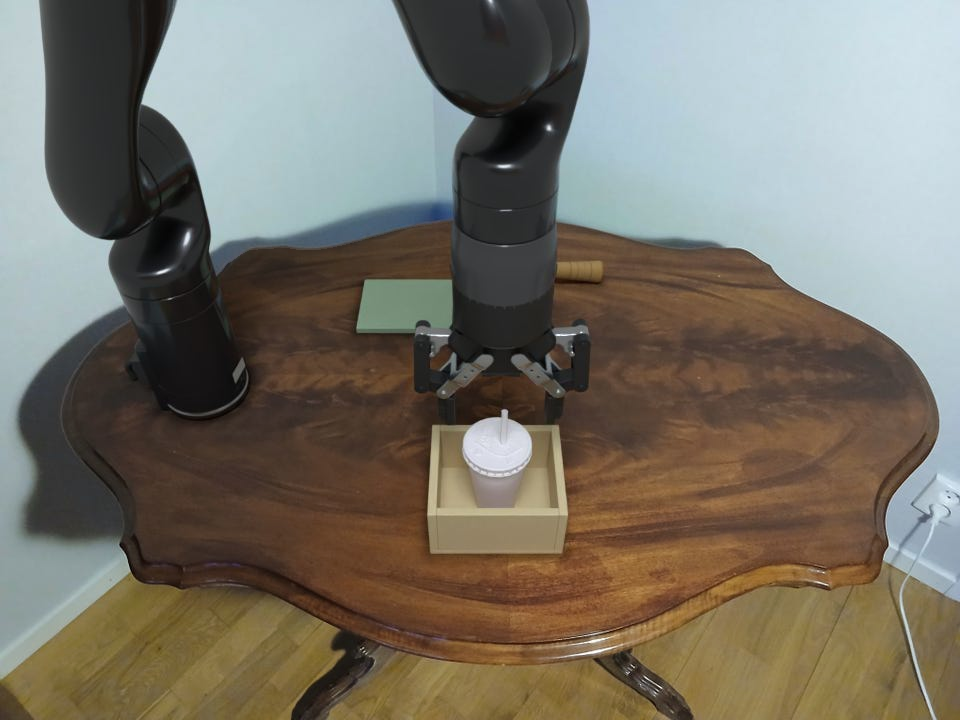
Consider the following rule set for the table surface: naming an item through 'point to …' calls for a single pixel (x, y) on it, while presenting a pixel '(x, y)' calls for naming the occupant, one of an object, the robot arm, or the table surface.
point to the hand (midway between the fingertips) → (499, 417)
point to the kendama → (580, 270)
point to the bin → (496, 529)
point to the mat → (404, 305)
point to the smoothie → (496, 459)
